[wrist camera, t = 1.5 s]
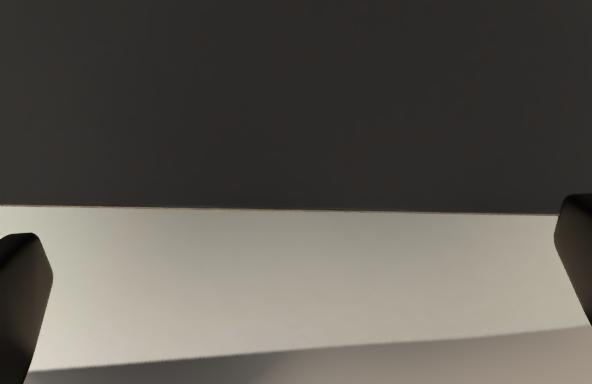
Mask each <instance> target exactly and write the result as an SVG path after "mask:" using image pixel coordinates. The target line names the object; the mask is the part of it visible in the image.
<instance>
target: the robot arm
mask: <svg viewBox="0 0 592 384" xmlns="http://www.w3.org/2000/svg"><path fill="white" fill-rule="evenodd" d="M554 243H555V247H556V250H557V252H558V254H559V256H560V259H561V261H562V263H563V265H564V268H565V270H566V272H567V274H568V276H569V279H570V281H571V283H572V285H573V288H574V290H575V292H576V294H577V297H578V299H579V301H580V303H581V305H582V308H583V310H584V312H585V314H586V316H587V318H588V320H589V322H590V324H591V326H592V193H582V194H570V195H568V196H566V197H565V199H564V200H563V202H562V206H561V209H560V213H559V217H558V221H557V225H556V228H555V232H554ZM52 283H53V273H52V269H51V266H50V263H49V261H48V258H47V256H46V254H45V251H44V249H43V246H42V244H41V241H40V239H39V237H38V236H37V235H35V234H33V233H19V234H10V235H7V236H5V237H3V238H2V239H0V384H23V383H24V380H25V377H26V375H27V372H28V369H29V367H30V364H31V361H32V358H33V354H34V351H35V348H36V344H37V340H38V336H39V333H40V329H41V325H42V321H43V318H44V314H45V310H46V306H47V303H48V299H49V295H50V291H51V288H52Z"/></svg>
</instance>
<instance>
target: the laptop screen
mask: <svg viewBox="0 0 592 384" xmlns="http://www.w3.org/2000/svg"><path fill="white" fill-rule="evenodd" d="M582 193H592V0H0V206H18V207H75V208H132V209H190V210H247V211H304V212H361V213H418V214H475V215H532V216H559V213H560V209H561V206H562V202H563V200H564V199H565V197H566V196H568V195H570V194H582Z"/></svg>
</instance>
